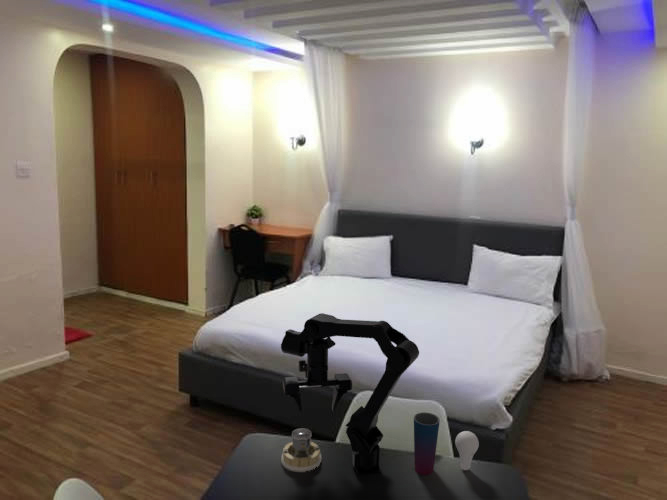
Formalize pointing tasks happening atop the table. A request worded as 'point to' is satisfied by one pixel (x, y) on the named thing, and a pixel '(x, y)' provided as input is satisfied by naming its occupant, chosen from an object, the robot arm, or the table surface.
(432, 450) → the cup
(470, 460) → the lightbulb
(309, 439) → the bayonet cap
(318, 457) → the ring
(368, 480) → the table surface
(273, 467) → the table surface
